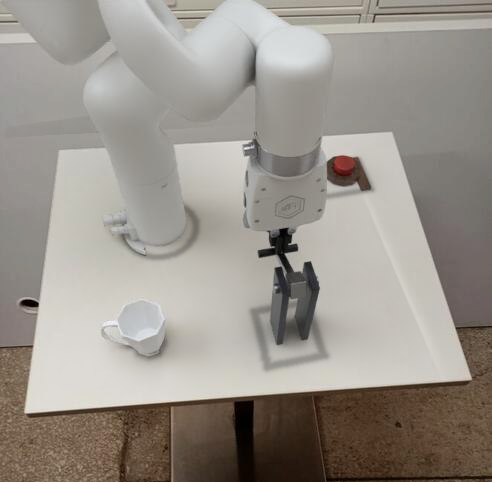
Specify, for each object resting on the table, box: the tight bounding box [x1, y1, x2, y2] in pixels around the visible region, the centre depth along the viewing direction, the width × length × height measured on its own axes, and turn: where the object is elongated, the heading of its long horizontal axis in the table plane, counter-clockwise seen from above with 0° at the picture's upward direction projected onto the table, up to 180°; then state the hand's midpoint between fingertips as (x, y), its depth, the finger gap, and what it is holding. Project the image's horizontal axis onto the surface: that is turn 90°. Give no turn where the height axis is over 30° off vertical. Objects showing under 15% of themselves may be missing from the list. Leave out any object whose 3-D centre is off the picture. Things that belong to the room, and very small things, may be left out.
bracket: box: [269, 260, 321, 346], centre depth 72 cm, size 10×9×16 cm
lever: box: [257, 243, 307, 300], centre depth 70 cm, size 12×6×2 cm, turn 12°
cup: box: [100, 297, 166, 358], centre depth 74 cm, size 7×10×8 cm
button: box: [332, 154, 355, 177], centre depth 92 cm, size 4×4×2 cm
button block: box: [326, 154, 372, 192], centre depth 93 cm, size 9×8×2 cm
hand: (279, 245), depth 73 cm, fingers closed
